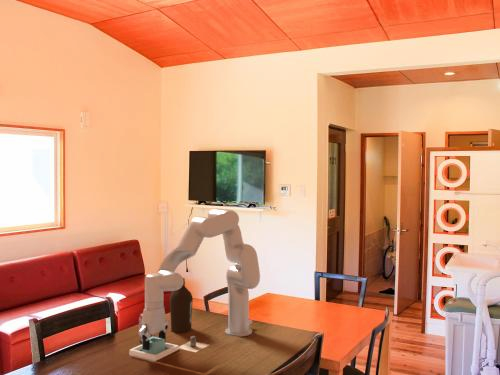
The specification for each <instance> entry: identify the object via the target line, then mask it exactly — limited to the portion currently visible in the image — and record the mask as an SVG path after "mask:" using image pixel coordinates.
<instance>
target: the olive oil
mask: <svg viewBox="0 0 500 375" xmlns="http://www.w3.org/2000/svg"><path fill="white" fill-rule="evenodd" d="M183 280H184V283H183V286H182V287H181V288H180V289H179V290H176V291H171V293H170V296H169V310H170V312H169V313H170V332H171V333H175V334H185V333H189V332H191V331H192V322H193V320H192V318H193V300H194V298H193V295H192V293H191V291H190V290H189V289H188V288H187V287H186V285H185V284H186V281H185V277H183Z"/></svg>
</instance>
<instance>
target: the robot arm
mask: <svg viewBox="0 0 500 375" xmlns="http://www.w3.org/2000/svg"><path fill="white" fill-rule="evenodd" d="M239 217H240V216H239V214H238V213H237V212H236V211H234V210H232V209H225V208H224V209H223V208H213V209H211V210H210V211H209V212H208V213H207V216H195V217H193V218H192V219H191V220H190V222H189V223H188V225H187V228H186V229H185V231H184V233H183V235H182V237H181V239H180V240H179V243H178V244H177V246H176V247H175V248H174V249H172V250H171V251H170V252H169V253H168V254H167V255H166V257H165V258H163V260H162V262H161V263H160V265H159V268H158V269H157V272H156V273H149V274H147V275H146V276H145V277H144V308H143V312H142V313H143V316H142V328H141V329H140V330H139V329H138V331H137V332H138V336H139V335H140V338H141V339H142V340H143V349H144V350H150V340H149V338H150V335H152V334H154V333H155V334H157V333H158V338H163V339H165V342H166V341H167V340H166V339H167V338H166V335H167V334H166V333H167V332H168V328H169V324H170V321H169V320H168V319H167V318H166V311H165V306H164V301H165V300H164V293H165V292H173V291H176V290H179V289H180V288H181V287H182V286H183V283H184V281H185V280H183V278H184V277H183V276H182V275H181V274H180V273H178V272H175V271H176V270H177V268H178V266H179V265H180V264H181V263H182V262H184V261H187V260H189V259H191V258H193V257H194V256H196V254H197V252H198V250H199V248H200V246H201V244H203V243H202V242H203V240H204V239H205V238H206V239H207V238H209V239H211V238H213V237H218V236H219V235H222V238H223V244H224V250H225V255H226V259H227V260H228V261H229V262H230V263H232V265H231V266H229V267H228V268H227V270H226V275H225V276H226V283H227V292H228V293H227V295H228V299H227V300H228V302H227V304H228V305H227V306H228V307H227V308H228V313H227V314H228V316H227V317H228V319H227V320H228V323H227V324H228V325H227V326H228V327H227V328H225V330H224V333H225V335H228V336H232V337H237V338H238V337H239V338H240V337H242V338H244V337H247V336H250V335H252V334H253V329H252V328H251V327H250V325H252V324H253V320H252V319H249V318H250V317H249V316H250V314H249V312H250V310H249V309H250V308H249V306H250V304H249V302H250V297H249V296H250V294H249V293H250V292H249V290H252V289H255V288H257V287H258V285H259V284H260V280H261V273H260V272H261V271H260V266H259V259H258V254H257V251H256V249H255V248H254V246H252V245H250V244H248V243H244V240H243V235H242V231H241V228H240V225H239V222H240V218H239ZM146 334H147V337H146ZM166 343H167V342H166Z"/></svg>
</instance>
